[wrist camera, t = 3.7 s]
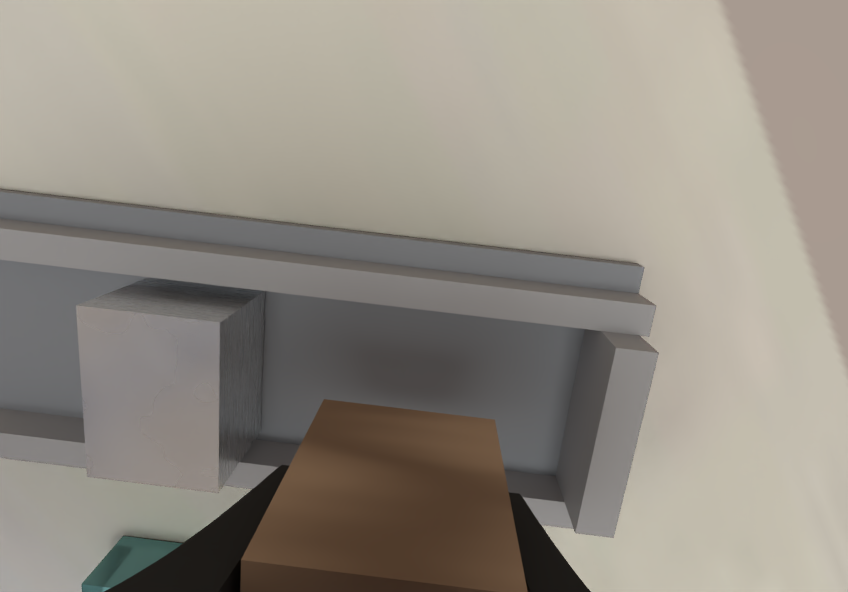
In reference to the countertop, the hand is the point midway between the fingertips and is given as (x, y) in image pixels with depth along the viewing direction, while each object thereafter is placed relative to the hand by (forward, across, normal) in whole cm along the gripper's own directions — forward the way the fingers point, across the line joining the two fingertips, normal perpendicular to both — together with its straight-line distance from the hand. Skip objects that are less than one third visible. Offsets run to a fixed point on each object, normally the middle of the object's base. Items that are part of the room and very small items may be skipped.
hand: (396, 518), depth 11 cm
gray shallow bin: (+8, +4, 0) cm, 9 cm away
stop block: (+1, 0, 0) cm, 1 cm away
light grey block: (+8, +7, 0) cm, 11 cm away
